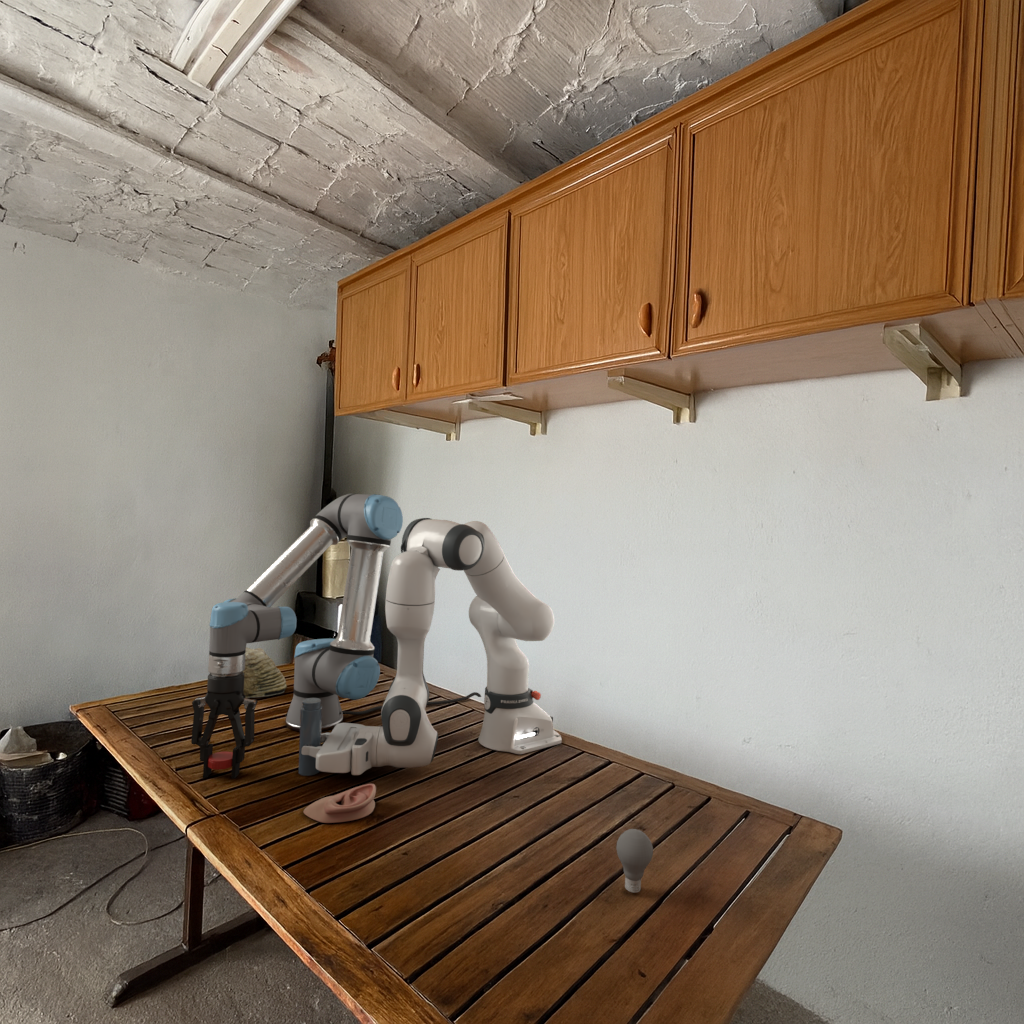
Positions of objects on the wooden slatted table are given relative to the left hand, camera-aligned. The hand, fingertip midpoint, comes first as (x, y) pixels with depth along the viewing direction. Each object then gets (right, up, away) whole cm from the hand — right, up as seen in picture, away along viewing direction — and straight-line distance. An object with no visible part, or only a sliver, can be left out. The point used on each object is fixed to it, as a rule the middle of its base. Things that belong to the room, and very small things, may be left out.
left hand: (221, 775), depth 142 cm
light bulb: (+85, -4, -36) cm, 93 cm away
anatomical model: (+30, -2, -13) cm, 33 cm away
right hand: (+18, +6, +4) cm, 19 cm away
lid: (0, +4, 0) cm, 4 cm away
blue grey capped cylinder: (+18, -1, +4) cm, 19 cm away
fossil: (-16, +2, +56) cm, 58 cm away
